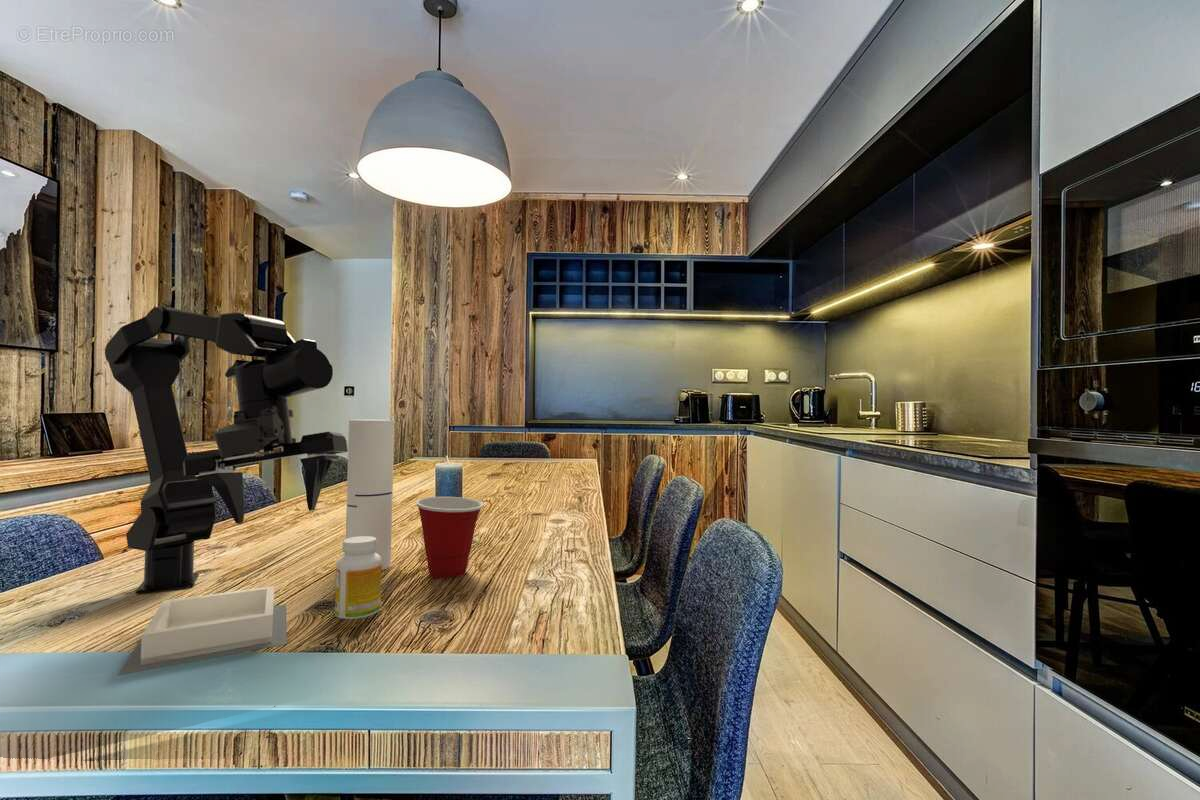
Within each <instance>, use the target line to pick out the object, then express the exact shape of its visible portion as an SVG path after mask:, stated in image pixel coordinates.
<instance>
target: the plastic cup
mask: <svg viewBox="0 0 1200 800" xmlns="http://www.w3.org/2000/svg"><path fill="white" fill-rule="evenodd" d="M416 507H417V509H418V512H419V516H420V522H421V528H422V529H421V530H422V536H423V537H422V538H423V543H424V551H425V552H424V553H425V556H426V561H427V569H428V572H429V577H431V578H434V579H435V578H436V579H454V578H457V577H458V578H459V577H461V576H463V575H465V574H466V572H467V569H468V564H469V558H470V553H471V550H472V545H473V539H474V535H475V530H476V524H477V521H478V517H479V515H480V512H481V510H482V509H483V507H484V502H482V501H479V500H477V499H473V498H467V497H458V496H430V497H429V496H428V497H423V498H420V499H418V500H416Z"/></svg>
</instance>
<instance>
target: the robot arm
mask: <svg viewBox="0 0 1200 800" xmlns="http://www.w3.org/2000/svg"><path fill="white" fill-rule="evenodd" d="M159 334H166V335H174V336H176V337H175V339H173V341H171V340H169V339H164V338H158V337H157V338H156V336H158V335H159ZM191 338H193V339H198V340H203V341H210V342H212V343H214V344H215V346H216V348H218V349H220V350H222V351H225V352H227V353H229V354H231V355H237V356H246V357H253V358H263V359H254V360H253V359H252V360H243V359H235V361H234V363H233V364H232V365H231V366H230V367H229V368H228V369H227V370H226V372H225V373H224V375H225V378H231V379H235V382H236V383H235V384H236V391H237V401H238V410H237V411H236V410H235V411H233V416H232V417H233V423H231V424H229V425H226V426H225V427H223V428H220V429H218V430H216V431H215V432H214V431H213V436H214V440H215V443H216V445H217V449H211V450H206V451H199V452H193V453H188V450H187V445H186V441H185V437H184V433H183V430H182V425H181V421H180V420H181V419H180V416H179V412H178V408H177V403H176V399H175V395H174V390H173V385H174V383H175V381H176V380H177V378H178V377H179V374H180V372H181V371H182V368H181V362H182V361H183V360H184V359H185V358H186V357H187V356H188V355H189V353H190V341H189V340H190V339H191ZM317 345H318V344H317V341H316V340H312V339H307V338H306V339H305V338H302V339H301V338H300V339H299V340H295V338H293V336H292V335H291V334H290V333H289V332H288V331H287V328H286V323H284V322H283V321H282V320H280V319H275V318H270V317H264V316H259V315H254V314H249V313H248V314H247V313H244V312H228V313H227V312H226V313H221V314H220V315H219V316H214V315H213V316H212V315H206V314H199V313H195V312H191V311H189V310H186V309H179V308H175V307H170V306H163V305H161V306H155V307H153V308H151V309H150V310H149V312H148V313H147V314H146V315H145V316H143V317H140V318H139V319H136V320H134V321H132V322H129V323H127V324H125V325H122V326H121V327H120V328H119V329H118V330H117V331H116V332H115V334H114V335H113V336H112V338H111V339H109V341H108V342H107V344H106V345H105V348H104V356H105V359H106V361H107V363H108V366H109V368H110V370H111V374H112V376H113V379H114V380H116V381H117V382H118V383H119V384H120V385H121V386H122V387H124V389H126V390H127V391H128V392H129V393H130V394H131V397H132V401H133V402H132V404H133V406H134V412H135V416H136V420H137V421H136V422H137V426H138V430H139V435H140V440H141V444H142V448H143V453H144V458H145V462H146V467H147V471H148V472H147V473H148V476H149V482H150V483H149V485H148V487H147V488H146V491H144V494H143V496H142V498H141V500H140V514H139V515H138V517H137V519H136V520H135V521H134V522H133V524H132V526H130V528H129V529H128V531H127V532H126V534H125V536H126V543H127V547H128V549H131V550H137V551H138V550H139V551H142V552H143V551H144V570H143V571H144V572H143V573H144V574H143V581H142V582H141V583H140V585H138V587H137V588H136V590H135V594H145V593H151V592H153V593H154V592H160V591H169V590H178V589H186V588H192V587H194V586H195V584H196V581H197V580H198V577H199V575H200V573H199V572H194V565H195V564H194V561H195V542H197V541H202V540H209V539H210V538H211V535H212V532H213V528H214V525H215V521H216V518H217V514H218V508H217V503H218V501H217V499H216V498H215V495H214V491H213V488H214V490H215V491H216V492H217V494H218V495H219V496H220V499H222V501H223V503H224V504H225V507H226V508H227V510H228V512H229V513H230V515H231V517H232V519H233V521H234V523H235V524H237V525H238V524H242V523H244V519H245V498H244V497H245V496H244V494H245V493H244V477H243V472H242V471H238V472H236V470H237V469H238V467H239V466H240V465H248V464H254V463H259V462H261V463H262V462H266V461H271V460H279V459H285V458H290V457H297V456H303V455H307V457H306V458H300V463H301V465H302V468H303V470H304V476H305V480H304V481H305V494H306V495H305V497H306V504H307V509H308V511H315V509H316V507H317V504H318V501H319V497H320V494H321V491H322V487H323V485H324V481H325V479H326V477H327V474H328V472H329V470H330V468H331V466H332V464H333V462H335V461H339V460H340V459H339V458H340V457H339V455H337V454H343V453H344V454H345V453H348V444H347V443H348V442H347V439H346V437H345V435H343V434H342V433H339V432H333V431H324V432H317V433H311V434H304V435H302V437H301V439H300V441H297V438H296V437H293V436H292V431H291V421H290V418H294V411H293V409H289V403H288V398H291V397H295V396H298V395H301V394H302V395H303V394H305V393H309V392H313V391H316V390H320V389H324V388H326V387H328V385H329V384H330V383H331V381H332V379H333V375H334V373H333V372H334V369H333V366H332V364H331V363H330V361H329V358H328V357H327V356H326V354H324V353H323V352H322V351H320V349H318V346H317ZM276 449H283V450H279V451H275V450H276Z"/></svg>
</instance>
